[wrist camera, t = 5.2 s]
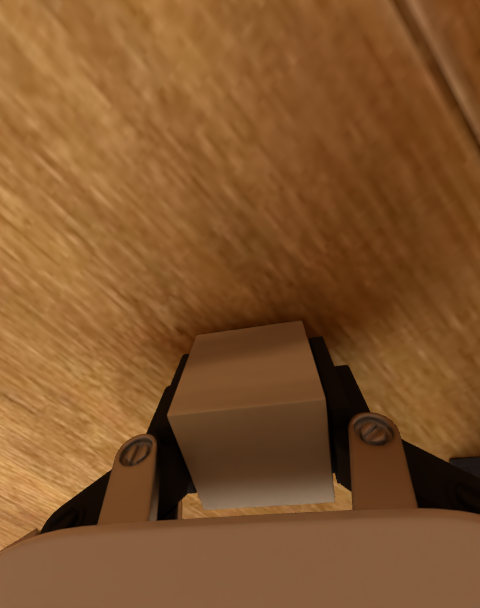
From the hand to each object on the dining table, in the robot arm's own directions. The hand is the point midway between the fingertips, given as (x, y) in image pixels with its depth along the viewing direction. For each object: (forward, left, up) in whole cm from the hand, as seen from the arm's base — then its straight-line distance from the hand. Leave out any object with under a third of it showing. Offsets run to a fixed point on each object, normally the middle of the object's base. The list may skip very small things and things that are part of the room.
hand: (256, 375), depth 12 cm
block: (0, 0, 0) cm, 0 cm away
